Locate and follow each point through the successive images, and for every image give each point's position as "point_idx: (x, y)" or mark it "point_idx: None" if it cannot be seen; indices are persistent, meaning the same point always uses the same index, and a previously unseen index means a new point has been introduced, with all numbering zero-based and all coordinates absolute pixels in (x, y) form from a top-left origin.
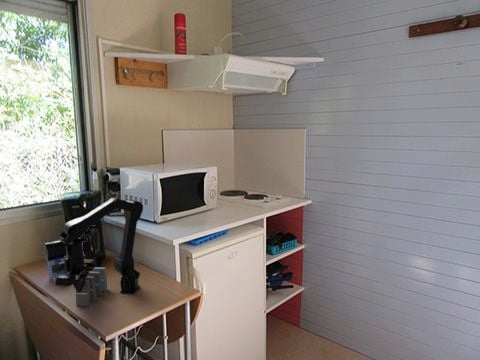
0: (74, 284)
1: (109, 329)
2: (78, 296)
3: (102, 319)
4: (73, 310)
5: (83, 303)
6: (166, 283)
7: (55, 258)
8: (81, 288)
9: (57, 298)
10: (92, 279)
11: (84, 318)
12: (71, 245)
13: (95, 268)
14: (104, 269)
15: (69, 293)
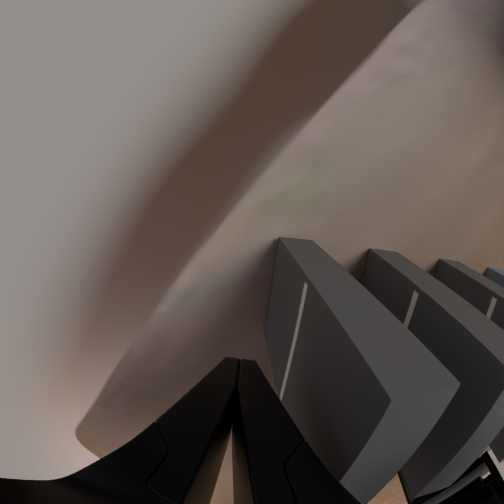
0: (139, 461)
1: (95, 444)
2: (293, 292)
3: (141, 426)
4: (208, 246)
5: (272, 310)
6: None
7: None
8: (225, 441)
9: (396, 34)
10: (410, 482)
11: (126, 357)
12: None
13: None
14: None
15: (465, 97)
